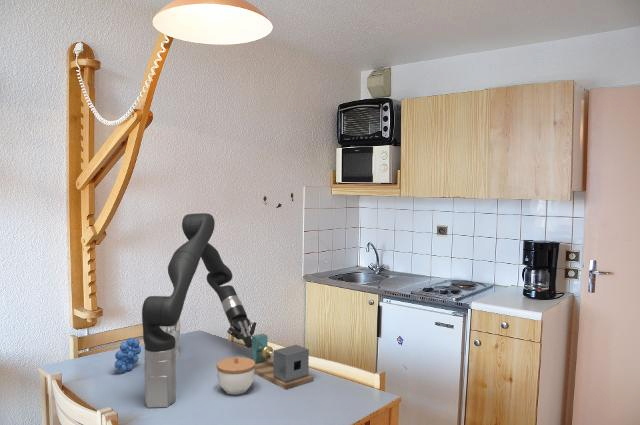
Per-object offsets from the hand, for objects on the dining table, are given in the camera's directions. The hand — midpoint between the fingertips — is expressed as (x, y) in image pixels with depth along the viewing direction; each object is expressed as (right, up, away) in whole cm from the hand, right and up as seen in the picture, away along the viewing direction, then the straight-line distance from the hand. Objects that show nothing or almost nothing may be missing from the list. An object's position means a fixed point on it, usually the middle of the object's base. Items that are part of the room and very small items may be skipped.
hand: (250, 346), depth 192 cm
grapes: (-44, -6, -11) cm, 46 cm away
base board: (+12, -6, -13) cm, 19 cm away
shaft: (+9, -4, -11) cm, 15 cm away
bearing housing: (+17, -5, -19) cm, 26 cm away
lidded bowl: (-1, -7, -27) cm, 28 cm away
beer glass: (-33, -5, +6) cm, 34 cm away
